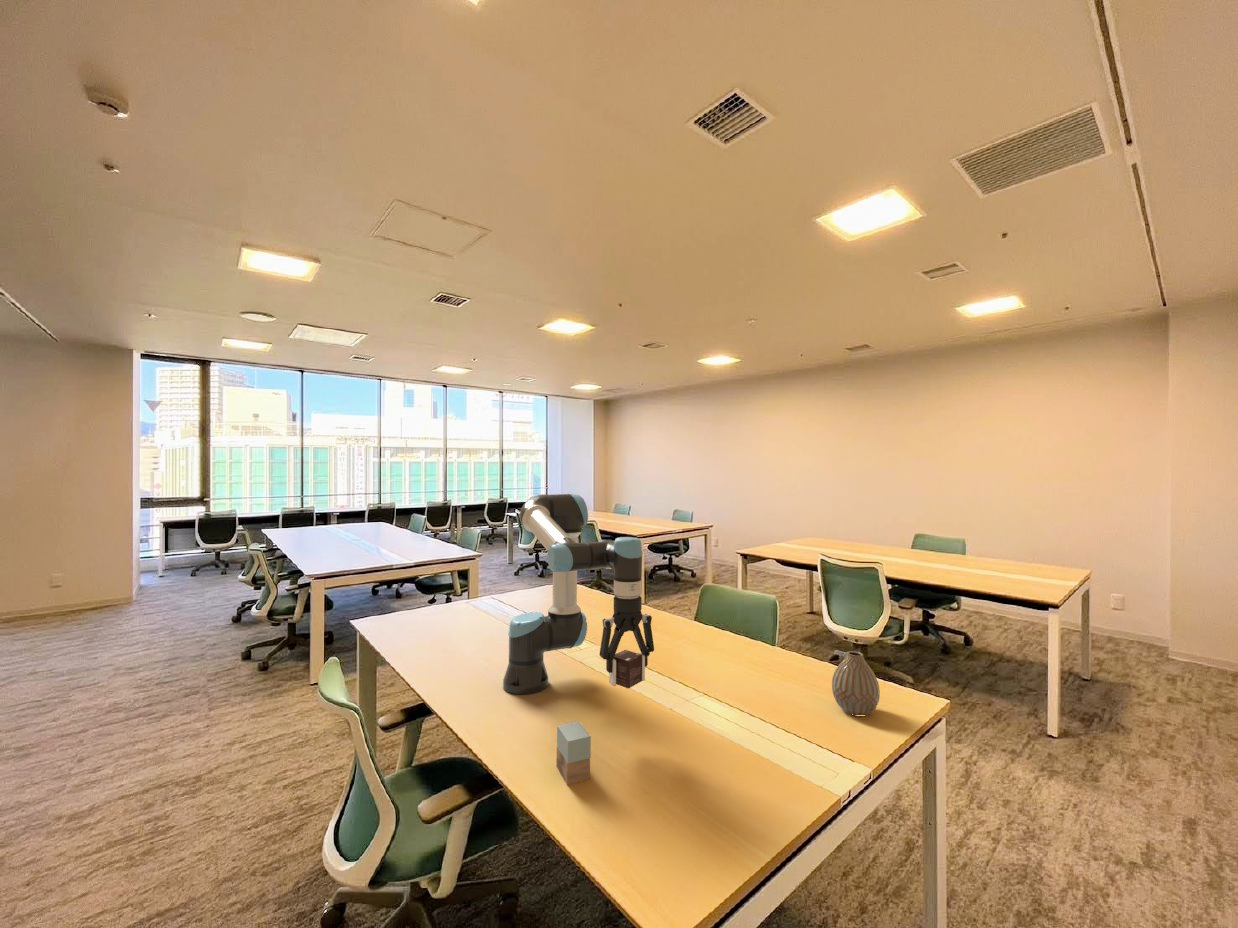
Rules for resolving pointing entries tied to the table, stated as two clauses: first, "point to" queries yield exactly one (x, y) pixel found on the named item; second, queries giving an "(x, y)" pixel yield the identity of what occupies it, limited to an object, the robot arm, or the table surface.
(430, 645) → the table surface
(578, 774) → the tower base
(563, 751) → the tower top
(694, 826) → the table surface
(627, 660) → the box
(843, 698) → the vase
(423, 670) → the table surface
